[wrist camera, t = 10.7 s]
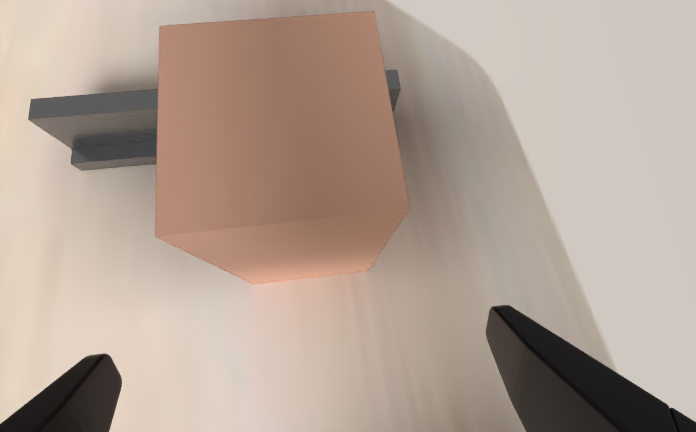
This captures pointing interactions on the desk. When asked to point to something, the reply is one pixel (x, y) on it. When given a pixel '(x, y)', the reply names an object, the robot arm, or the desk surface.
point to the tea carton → (277, 146)
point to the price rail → (116, 125)
